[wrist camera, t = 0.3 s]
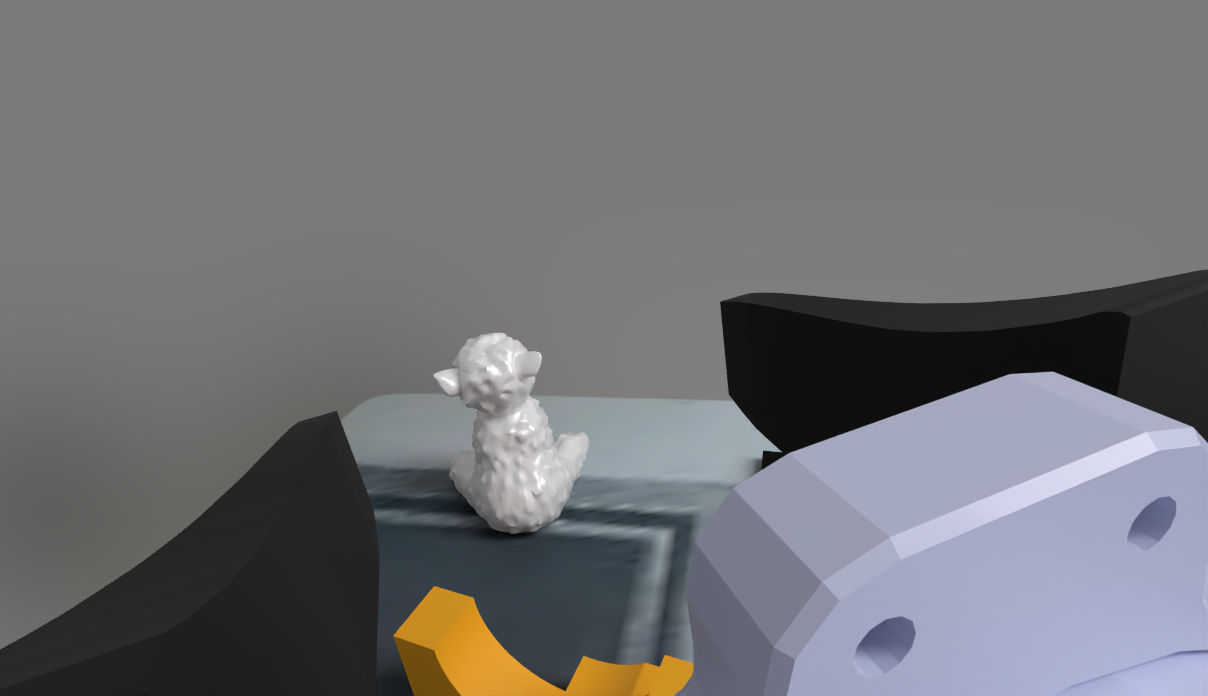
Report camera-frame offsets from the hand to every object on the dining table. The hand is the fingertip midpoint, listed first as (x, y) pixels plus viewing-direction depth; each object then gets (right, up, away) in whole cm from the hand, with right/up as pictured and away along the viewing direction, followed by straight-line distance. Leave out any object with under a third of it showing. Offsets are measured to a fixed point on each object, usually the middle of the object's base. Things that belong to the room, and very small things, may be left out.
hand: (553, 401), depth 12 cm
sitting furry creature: (-4, -9, +30) cm, 31 cm away
